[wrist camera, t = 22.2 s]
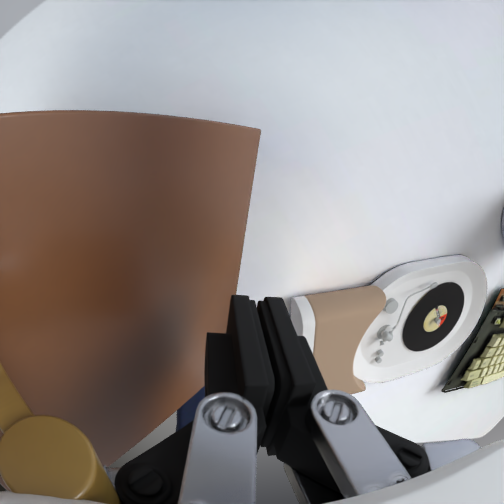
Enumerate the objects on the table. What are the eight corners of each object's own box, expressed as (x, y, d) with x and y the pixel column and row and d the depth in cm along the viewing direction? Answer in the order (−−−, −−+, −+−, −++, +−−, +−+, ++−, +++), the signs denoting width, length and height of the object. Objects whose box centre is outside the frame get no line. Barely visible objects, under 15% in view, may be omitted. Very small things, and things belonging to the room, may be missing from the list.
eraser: (181, 363, 22) (177, 435, 16) (209, 369, 23) (212, 439, 17) (177, 381, 23) (173, 450, 17) (203, 386, 24) (205, 454, 17)
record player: (303, 301, 18) (509, 260, 20) (290, 276, 20) (488, 247, 23) (296, 418, 22) (474, 360, 24) (288, 392, 25) (458, 344, 27)
